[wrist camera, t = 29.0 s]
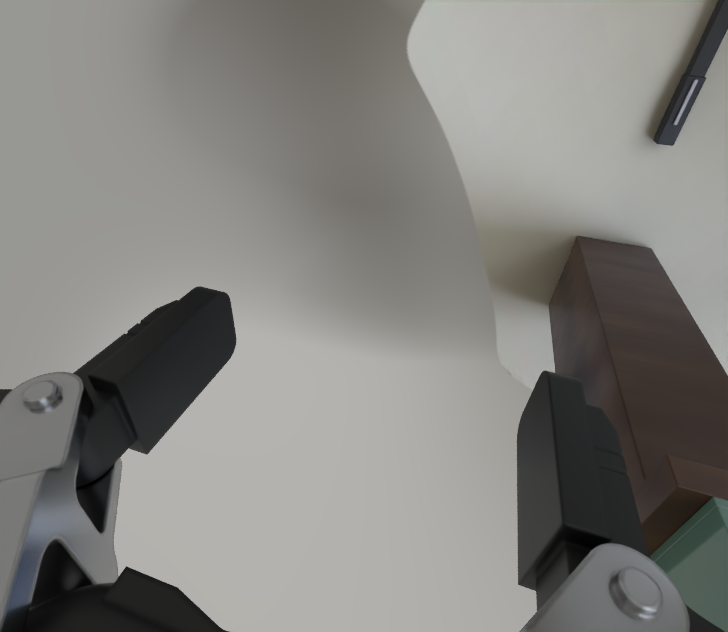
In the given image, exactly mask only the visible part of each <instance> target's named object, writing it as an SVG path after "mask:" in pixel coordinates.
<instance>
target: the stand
mask: <svg viewBox="0 0 728 632" xmlns="http://www.w3.org/2000/svg"><path fill="white" fill-rule="evenodd" d="M549 314H550V324H551V333H552V343H553V353H554V362H555V372H556V373H557V374H561V375H565V376H569V377H573V378H577V379H580V380H581V382H582V385H583V390H584V395H585V400H586V405H590V406H594V407H598V408H601V409H602V410H603V411H604V413H605V414H606V416H607V417H608V418H609V420H610V421H611V423H612V424H613V426H614V427H615V428H616V430H617V433H618V437H619V441H620V445H621V449H622V456H623V457H624V460H625V464H626V468H627V472H626V475H628V476H629V480H630V484H631V487H632V491H633V495H634V499H635V503H636V507H637V511H638V515H639V518H640V522H641V526H642V530H643V534H644V538H645V542H646V545H647V549H648V552H649V555H651V554H652V553H653V552H654V551H655V550H656V549H657V548H659V547H660V546H661V545H662V544H663V543H664V542H665V541H666V540H667V539H668V538H669V537H670V536H671V535H672V534H673V533H675V532H676V531H677V530H678V529H679V528H680V527H681V526H682V525H683V524H684V523H685V522H686V521H687V520H688V519H690V518H691V517H692V516H693V515H694V514H695V513H696V512H697V511H698V510H699V509H700V508H701V507H702V506H703V505H705V504H706V503H707V502H708V501H709V500H710V499H711V498H712V497H716V498H720V499H724V500H727V501H728V375H727V374H726V372H725V370H724V369H723V367H722V365H721V364H720V362H719V360H718V359H717V357H716V355H715V354H714V352H713V350H712V349H711V347H710V345H709V344H708V342H707V340H706V339H705V337H704V335H703V334H702V332H701V330H700V329H699V327H698V325H697V324H696V322H695V320H694V319H693V317H692V315H691V314H690V312H689V310H688V309H687V307H686V305H685V304H684V302H683V300H682V299H681V297H680V295H679V294H678V292H677V290H676V289H675V287H674V285H673V284H672V282H671V280H670V279H669V277H668V275H667V274H666V272H665V270H664V269H663V267H662V265H661V264H660V262H659V260H658V259H657V257H656V255H655V254H654V252H653V250H652V249H651V248H645V247H639V246H633V245H628V244H622V243H616V242H610V241H604V240H598V239H592V238H587V237H581V236H577V238H576V240H575V243H574V245H573V248H572V250H571V253H570V255H569V257H568V260H567V262H566V265H565V267H564V270H563V272H562V275H561V277H560V280H559V282H558V285H557V287H556V290H555V292H554V295H553V297H552V299H551V302H550V304H549Z"/></svg>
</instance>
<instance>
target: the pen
mask: <svg viewBox="0 0 728 632" xmlns="http://www.w3.org/2000/svg"><path fill="white" fill-rule="evenodd" d="M727 29H728V0H719V1H718V3H717V5H716V7H715V9H714V12H713V14H712V16H711V18H710V20H709V22H708V25H707V27H706V29H705V31H704V33H703V35H702V38H701V40H700V42H699V44H698V46H697V48H696V51H695V53H694V55H693V57H692V59H691V61H690V64H689V66H688V68H687V70H686V72H685V74H684V75H683V76H682V78H681V80H680V82H679V84H678V87H677V89H676V91H675V93H674V95H673V98H672V100H671V102H670V104H669V106H668V108H667V111H666V113H665V115H664V117H663V119H662V121H661V124H660V126H659V128H658V130H657V132H656V135H655V137H654V139H653V141H654V142H656V143H657V144H664V145H674V143H675V141H676V139H677V137H678V134H679V132H680V130H681V128H682V126H683V124H684V122H685V120H686V118H687V116H688V114H689V112H690V110H691V108H692V106H693V104H694V102H695V100H696V98H697V96H698V94H699V92H700V90H701V88H702V86H703V84H704V81H705V79H706V77H704V76H705V74H706V72H707V70H708V68H709V66H710V64H711V62H712V60H713V58H714V56H715V54H716V52H717V50H718V48H719V45H720V43H721V41H722V39H723V37H724V35H725V33H726V31H727Z"/></svg>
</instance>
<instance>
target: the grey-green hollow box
mask: <svg viewBox="0 0 728 632" xmlns="http://www.w3.org/2000/svg"><path fill="white" fill-rule="evenodd" d="M650 558H651V560H652V561H653V562H654V563H656V564H657V565H658V566H659V567H660V568H661V569H662V570H663V571H664V572H665V573H666V574H667V575H668V577H669V578H670V579H671V580H672V582H673V583H674V584H675V586H676V587H677V589H678V590H679V592H680V594H681V596H682V598H683V600H684V602H685V604H686V605H687V606H688V607H689V608H691V609H692V610H693V611H694V612H696V613H697V614H699V615H700V616H702V617H703V618H704V619H706V620H708V621H709V622H711V623H712V624H714V625H715V626H717V627H719V628H720V629H722V630H723V631H725V632H728V501H727V500H724V499H720V498H716V497H712V498H711V499H710V500H709V501H708V502H707V503H706V504H705V505H703V506H702V507H701V508H700V509H699V510H698V511H697V512H696V513H695V514H694V515H693V516H692V517H691V518H690V519H688V520H687V521H686V522H685V523H684V524H683V525H682V526H681V527H680V528H679V529H678V530H677V531H676V532H675V533H673V534H672V535H671V536H670V537H669V538H668V539H667V540H666V541H665V542H664V543H663V544H662V545H661V546H660V547H659V548H657V549H656V550H655V551H654V552H653V553H652V554H651V555H650Z"/></svg>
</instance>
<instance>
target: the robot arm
mask: <svg viewBox="0 0 728 632" xmlns="http://www.w3.org/2000/svg"><path fill="white" fill-rule="evenodd" d="M235 345H236V333H235V327H234V321H233V315H232V308H231V302H230V298H229V296H228V294H226V293H225V292H220V291H217V290H212V289H208V288H204V287H196V288H194V289H193V290H191V291H190V292H189V293H187V294H186V295H185V296H184V297H182V298H181V299H180V300H179V301H178V300H176V301H173V302H171V303H169V304H166V305H164V306H162V307H160V308H157V309H155V310H154V311H153V312H152V313H150V314H149V315H148V316H147V317H145V318H144V319H143V320H141V323H140V324H136V325H135V326H134V327H132V328H131V329H130V330H128V333H127V334H123V335H122V336H121V337H119V338H118V339H117V340H116V341H114V342H113V343H112V344H110V345H109V346H108V347H107V348H105V349H104V350H103V351H101V352H100V353H99V354H98V355H96V356H95V357H94V358H92V359H91V360H90V361H89V362H87V363H86V364H85V365H83V366H82V367H81V368H80V369H78V370H77V371H76V372H74V373H73V374H72V373H67V372H54V373H48V374H44V375H40V376H37V377H34V378H32V379H30V380H28V381H26V382H24V383H22V384H20V385H19V386H17V387H16V388H14V389H13V390H11V389H10V390H9V389H8V390H7V389H5V390H3V389H0V632H228V631H225V630H223V629H221V628H220V627H219V626H218V625H217V624H216V623H215V622H213V621H212V620H211V619H210V618H209V617H208V616H207V615H206V614H205V613H204V612H203V611H202V610H201V609H200V608H199V607H197V606H196V605H195V604H194V603H193V602H192V601H191V600H190V599H189V598H188V597H187V596H186V595H184V593H183V592H182V591H180V590H179V589H178V588H177V587H174V586H172V585H170V584H167V583H165V582H162V581H160V580H158V579H155V578H153V577H150V576H148V575H145V574H143V573H141V572H138V571H136V570H133V569H131V568H129V567H126V568H125V569H124V570H123V572H122V573H121V575H120V576H119V577H118V567H117V560H116V556H115V551H114V531H115V522H116V514H117V505H118V496H119V488H120V479H121V470H122V461H121V459H120V457H121V456H122V454H124V452H125V451H126V450H127V449H128V448H130V449H132V450H136V451H138V452H141V453H144V454H148V453H149V452H150V450H151V449H152V448H153V447H154V446H155V445H156V444H157V443H158V441H159V440H160V439H161V438H162V437H163V436H164V434H165V433H166V432H167V431H168V430H169V429H170V427H171V426H172V425H173V424H174V423H175V422H176V421H177V419H178V418H179V417H180V416H181V415H182V414H183V412H184V411H185V410H186V409H187V408H188V407H189V406H190V404H191V403H192V402H193V401H194V400H195V398H196V397H197V396H198V395H199V394H200V393H201V392H202V390H203V389H204V388H205V387H206V386H207V385H208V384H209V382H210V381H211V380H212V379H213V378H214V377H215V376H216V374H217V373H218V372H219V371H220V370H221V369H222V367H223V366H224V365H225V364H226V363H227V362H228V360H229V359H230V358H231V356H232V354H233V352H234V349H235ZM626 472H627V468H626V464H625V460H624V457H623V456H622V449H621V445H620V441H619V437H618V433H617V430H616V428H615V427H614V426H613V424H612V423H611V421H610V420H609V418H608V417H607V416H606V414H605V413H604V411H603V410H602V409H601V408H598V407H594V406H590V405H586V400H585V395H584V390H583V385H582V382H581V380H580V379H577V378H573V377H569V376H565V375H561V374H557V373H553V372H548V371H543V372H542V373H541V375H540V377H539V379H538V381H537V383H536V385H535V387H534V390H533V392H532V394H531V396H530V398H529V400H528V403H527V405H526V407H525V409H524V411H523V414H522V416H521V419H520V423H519V427H518V434H517V491H518V492H517V499H518V500H517V501H518V585H521V586H524V587H526V588H529V589H532V590H535V591H536V594H537V612H536V613H535V615H534V616H533V617H532V618H531V619H530V620H529V621H528V623H527V624H526V625H525V626H524V627H523V628H522V629H521V631H520V632H725V631H723V630H722V629H720V628H719V627H717V626H715V625H714V624H712V623H711V622H709V621H708V620H706V619H704V618H703V617H702V616H700V615H699V614H697V613H696V612H694V611H693V610H692V609H691V608H689V607H688V606H687V605H686V604H685V602H684V600H683V598H682V596H681V594H680V592H679V590H678V589H677V587H676V586H675V584H674V583H673V582H672V580H671V579H670V578H669V577H668V575H667V574H666V573H665V572H664V571H663V570H662V569H661V568H660V567H659V566H658V565H657V564H656V563H654V562H653V561H652V560H651V558H650V555H649V552H648V549H647V545H646V542H645V538H644V534H643V530H642V526H641V522H640V518H639V515H638V511H637V507H636V503H635V499H634V495H633V491H632V487H631V484H630V480H629V476H628V475H626Z"/></svg>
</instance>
